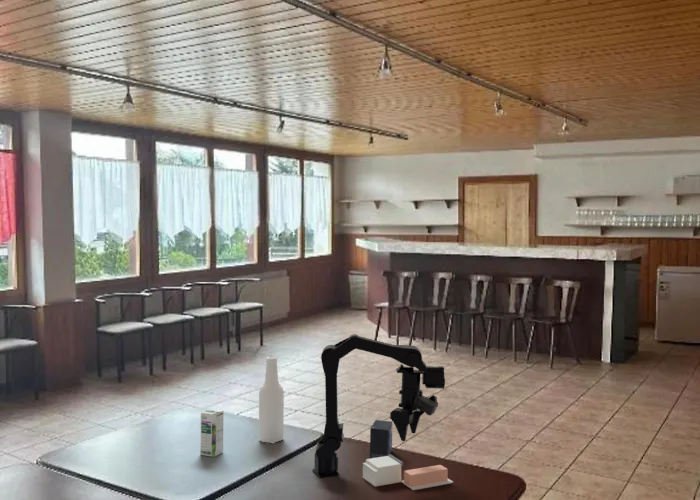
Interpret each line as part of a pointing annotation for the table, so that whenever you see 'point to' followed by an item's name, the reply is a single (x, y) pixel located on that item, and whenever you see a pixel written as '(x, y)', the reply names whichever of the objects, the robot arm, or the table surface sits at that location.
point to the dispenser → (382, 470)
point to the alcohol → (271, 405)
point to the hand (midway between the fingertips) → (408, 436)
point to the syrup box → (211, 432)
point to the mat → (429, 484)
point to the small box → (380, 439)
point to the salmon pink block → (425, 475)
